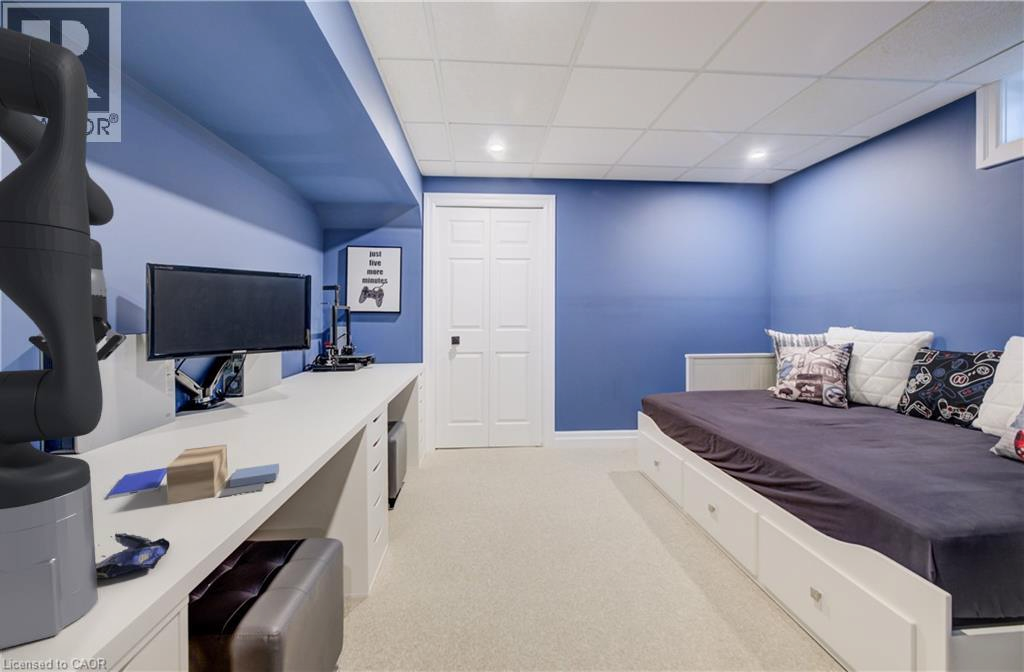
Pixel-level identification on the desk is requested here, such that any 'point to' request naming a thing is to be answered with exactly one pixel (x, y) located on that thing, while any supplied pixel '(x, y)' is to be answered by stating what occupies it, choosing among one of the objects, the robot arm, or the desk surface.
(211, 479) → the oak step
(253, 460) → the desk surface
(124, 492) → the hard drive
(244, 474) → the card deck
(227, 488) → the rubber mat
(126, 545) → the snack package
